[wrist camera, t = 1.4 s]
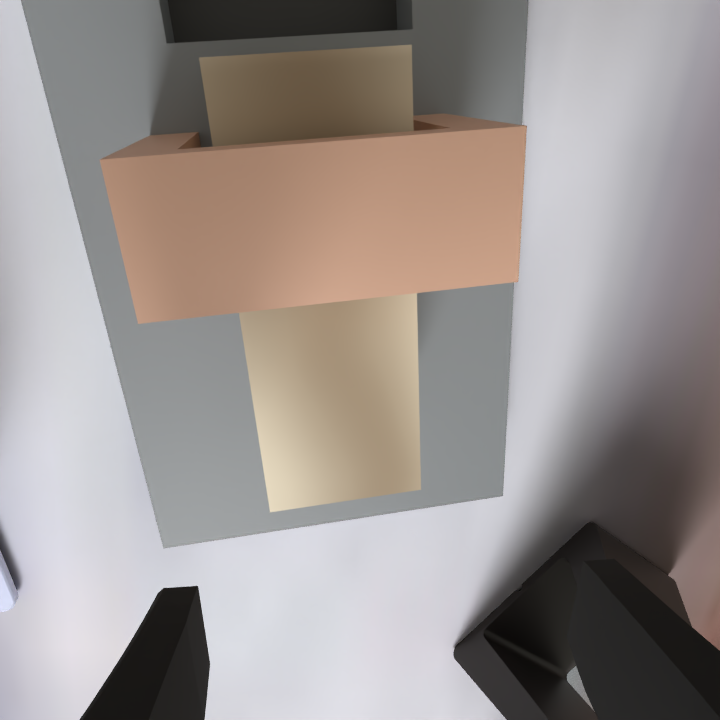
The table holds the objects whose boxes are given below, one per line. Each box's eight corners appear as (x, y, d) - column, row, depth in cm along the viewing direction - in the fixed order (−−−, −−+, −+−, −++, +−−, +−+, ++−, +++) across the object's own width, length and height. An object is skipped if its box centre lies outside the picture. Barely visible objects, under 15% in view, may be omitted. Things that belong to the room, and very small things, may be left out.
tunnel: (173, 252, 16) (137, 323, 11) (150, 135, 15) (99, 159, 10) (443, 226, 17) (518, 281, 12) (443, 113, 16) (527, 125, 11)
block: (267, 431, 19) (270, 512, 15) (212, 64, 15) (199, 57, 11) (390, 414, 20) (420, 489, 16) (374, 54, 15) (411, 44, 11)
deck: (170, 510, 22) (163, 548, 20) (-1, -192, 14) (-40, -235, 12) (483, 464, 23) (502, 496, 22) (506, -198, 15) (540, -237, 13)
